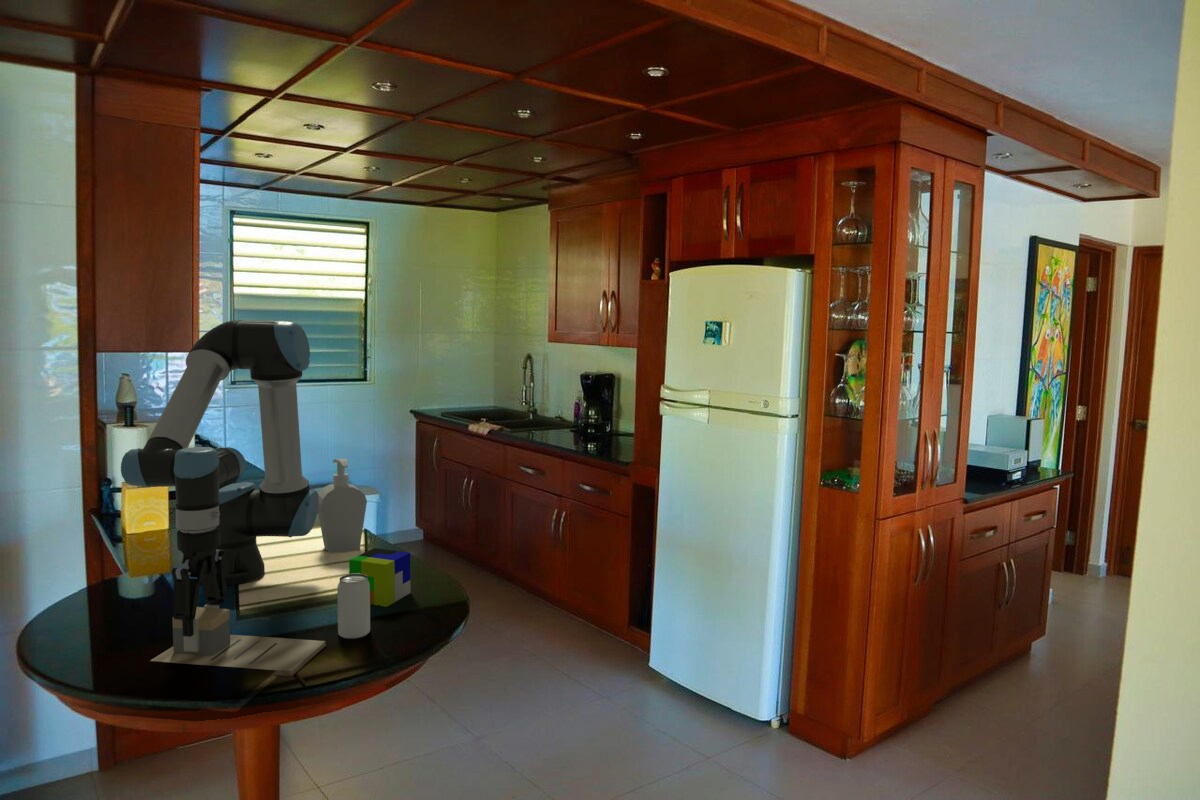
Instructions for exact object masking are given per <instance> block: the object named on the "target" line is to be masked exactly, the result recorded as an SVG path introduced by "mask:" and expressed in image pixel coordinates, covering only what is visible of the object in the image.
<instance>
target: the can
mask: <svg viewBox="0 0 1200 800" xmlns="http://www.w3.org/2000/svg"><path fill="white" fill-rule="evenodd" d="M336 587H337V588H336V589H337V594H336V595H337V632H338V633H337V634H338V636H340V638H341V639H347V640H355V639H356V640H357V639H360V638H361V639H362V638H364V637H366V636H367V635H368V634H369V633H370V631H371V604H370V584H369V582H368V580H367V576H366V575H364V574H349V573H348V574H345V575H341V576H339V582H338V584H337V586H336Z"/></svg>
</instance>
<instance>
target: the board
mask: <svg viewBox="0 0 1200 800" xmlns="http://www.w3.org/2000/svg"><path fill="white" fill-rule="evenodd" d="M326 645H327V644H326V640H314V639H302V638H301V639H300V638H285V637H270V636H257V635H256V636H255V635H241V634H230V644H228V645H227V646H226V647H224V648H223V649H221V650H220V651H218V652H217V653H216V654H214V655H213V656H210V655H197V654H184V653H174V650H173V646H171V647H170V648H168V649H167V650H165V651H164V652H161V653H160V654H158V655H157V656H155V657H154V658H151V659H150V660H149V662H156V663H157V662H158V663H169V664H171V663H173V664H186V665H199V666H211V667H212V666H215V667H224V668H225V667H227V668H241V669H242V668H243V669H253V670H255V669H256V670H266V671H267V670H268V671H273V672H272V673H271V674H270V675H271V676H280V677H281V676H282V677H283V676H284V677H293V676H294V675H295V674H296V673H297V672H298V671H299V670H301V668H303V667H304V666H305V665H306V664H307V663H309V662H310V660H312V658H314V657H315V656H316V655H317V654H318V653H319V652H320V651H322V650H323V649H324V648H325V647H327V646H326Z"/></svg>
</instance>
